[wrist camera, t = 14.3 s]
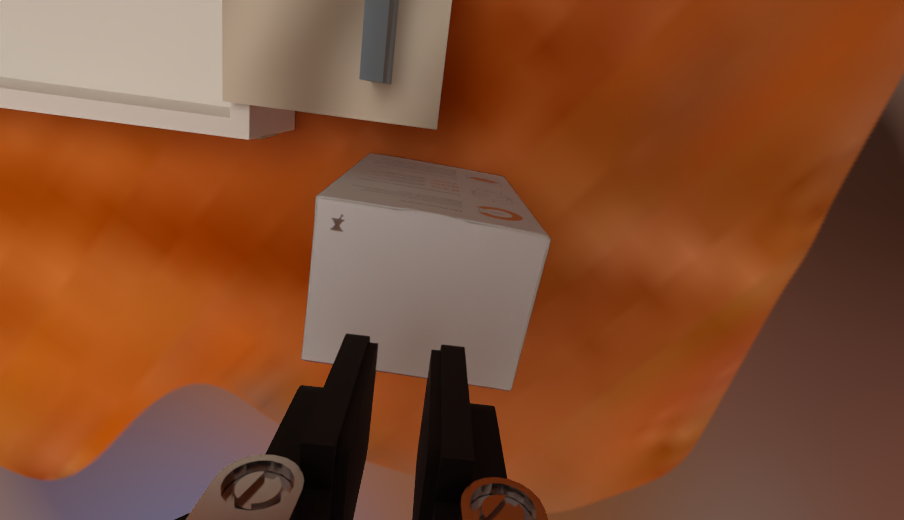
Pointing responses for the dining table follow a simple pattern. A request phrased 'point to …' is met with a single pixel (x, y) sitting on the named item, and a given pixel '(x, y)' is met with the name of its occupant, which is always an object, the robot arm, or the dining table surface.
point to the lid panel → (338, 57)
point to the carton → (125, 65)
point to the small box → (423, 268)
